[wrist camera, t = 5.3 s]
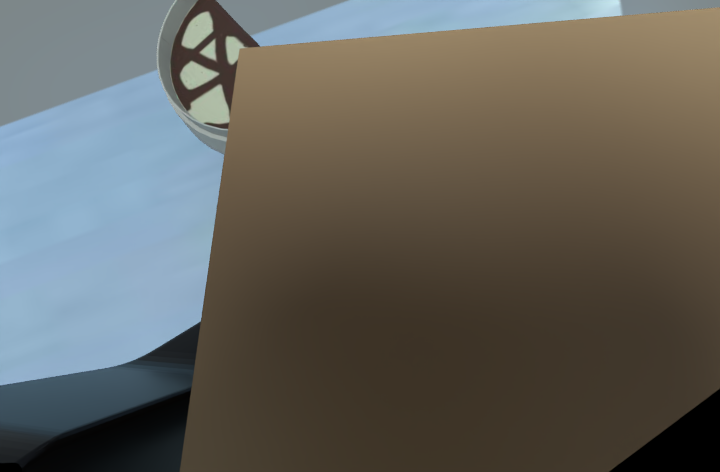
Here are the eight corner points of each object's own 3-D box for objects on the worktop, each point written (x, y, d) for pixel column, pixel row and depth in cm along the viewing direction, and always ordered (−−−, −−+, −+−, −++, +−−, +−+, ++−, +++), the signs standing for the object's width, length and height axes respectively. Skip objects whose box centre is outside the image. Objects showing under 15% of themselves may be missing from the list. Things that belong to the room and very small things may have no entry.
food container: (217, 131, 27) (110, 39, 17) (270, 86, 27) (193, -32, 17) (299, 234, 24) (225, 193, 14) (358, 183, 24) (325, 107, 14)
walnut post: (464, 344, 14) (924, 711, 2) (369, 337, 15) (167, 559, 2) (462, 249, 15) (750, 3, 2) (372, 247, 16) (239, 48, 3)
